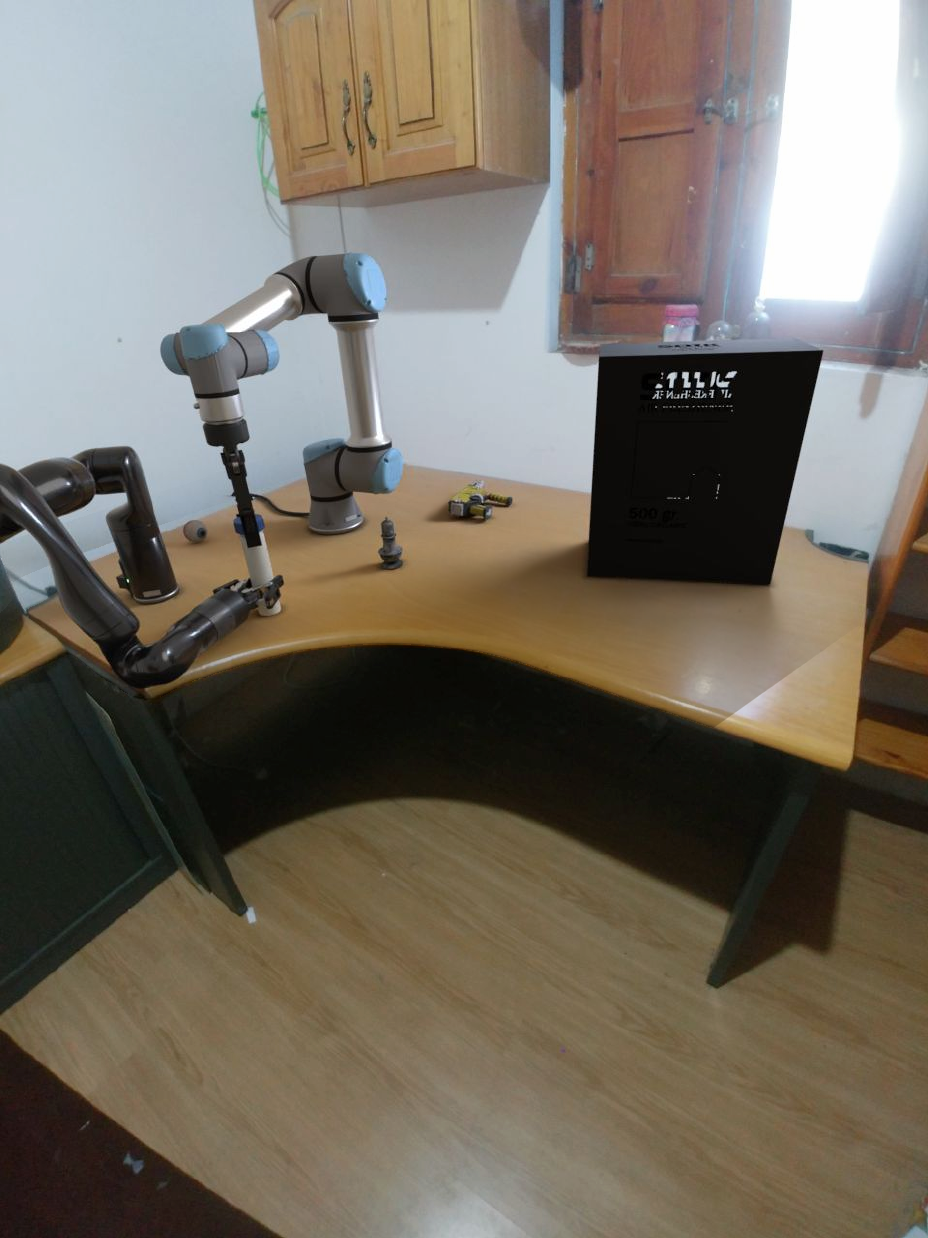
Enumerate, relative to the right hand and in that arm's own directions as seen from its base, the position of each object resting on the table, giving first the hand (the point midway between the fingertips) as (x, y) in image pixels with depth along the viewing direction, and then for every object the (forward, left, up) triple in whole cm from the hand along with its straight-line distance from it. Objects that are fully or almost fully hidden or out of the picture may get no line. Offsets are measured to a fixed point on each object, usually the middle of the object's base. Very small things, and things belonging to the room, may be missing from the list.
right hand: (252, 539), depth 119 cm
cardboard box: (+41, +80, -16) cm, 91 cm away
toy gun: (-18, +72, -16) cm, 76 cm away
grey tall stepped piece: (-2, +31, -16) cm, 35 cm away
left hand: (-1, +2, -10) cm, 10 cm away
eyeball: (-51, -1, -16) cm, 54 cm away
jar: (0, 0, -16) cm, 16 cm away
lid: (0, 0, +4) cm, 4 cm away
